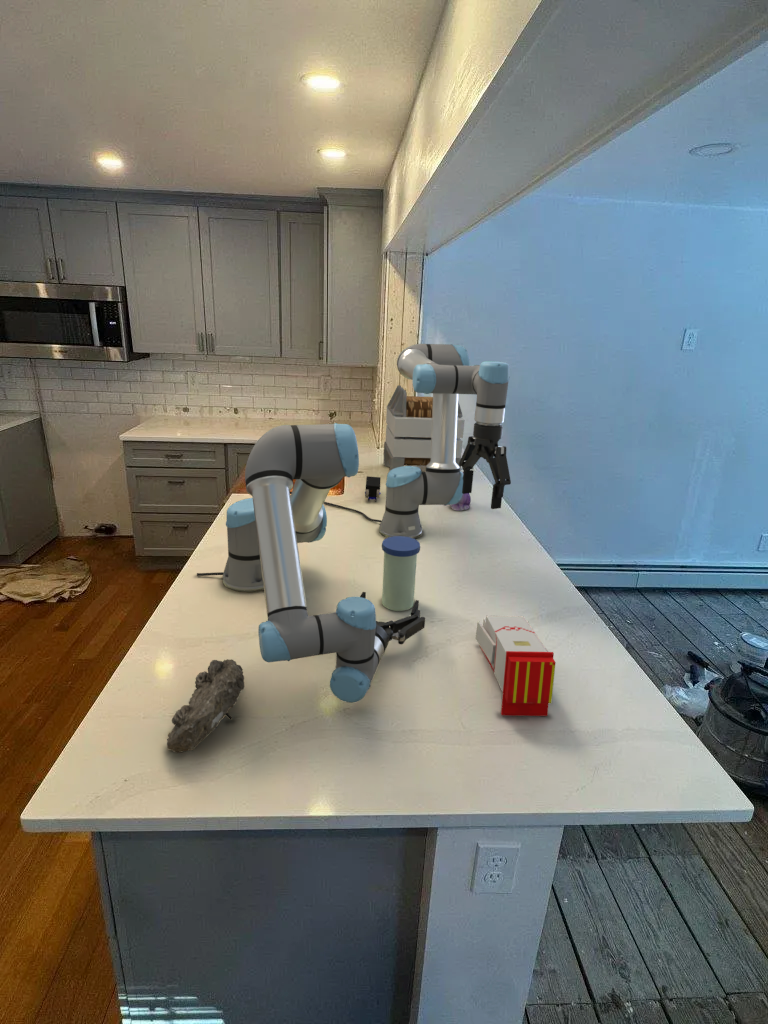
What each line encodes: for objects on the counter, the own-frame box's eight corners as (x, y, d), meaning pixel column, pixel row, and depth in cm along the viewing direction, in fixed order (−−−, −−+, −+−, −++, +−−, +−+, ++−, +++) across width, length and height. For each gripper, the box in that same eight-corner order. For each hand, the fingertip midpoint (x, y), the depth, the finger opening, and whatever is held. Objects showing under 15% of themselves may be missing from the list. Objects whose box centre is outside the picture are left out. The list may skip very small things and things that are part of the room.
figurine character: (380, 506, 230) (380, 491, 243) (381, 489, 227) (381, 475, 240) (364, 506, 230) (364, 491, 243) (364, 489, 226) (365, 474, 240)
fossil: (192, 660, 117) (244, 628, 112) (224, 691, 120) (276, 661, 115) (142, 746, 98) (202, 712, 93) (182, 779, 101) (242, 748, 96)
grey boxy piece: (382, 463, 289) (386, 382, 275) (445, 464, 293) (451, 384, 279) (390, 482, 257) (394, 392, 243) (460, 483, 261) (468, 394, 247)
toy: (522, 601, 137) (564, 658, 107) (517, 652, 139) (557, 722, 110) (472, 600, 136) (500, 657, 107) (468, 651, 139) (495, 721, 110)
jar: (420, 604, 153) (424, 545, 147) (397, 614, 147) (401, 554, 142) (397, 592, 159) (400, 536, 153) (375, 602, 153) (377, 543, 147)
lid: (427, 550, 148) (428, 544, 147) (401, 560, 141) (401, 554, 140) (400, 538, 154) (400, 533, 154) (373, 547, 148) (374, 542, 147)
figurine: (457, 512, 223) (460, 476, 218) (443, 504, 231) (446, 469, 226) (477, 509, 227) (480, 473, 222) (462, 502, 236) (465, 467, 230)
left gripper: (313, 651, 126) (342, 606, 145) (423, 671, 121) (438, 622, 140) (313, 621, 123) (342, 580, 143) (426, 641, 118) (441, 595, 138)
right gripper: (531, 432, 139) (520, 513, 146) (473, 414, 159) (466, 486, 167) (506, 433, 135) (497, 517, 143) (450, 415, 156) (444, 488, 163)
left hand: (390, 600), depth 142 cm, fingers open, 13 cm apart
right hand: (480, 500), depth 155 cm, fingers open, 13 cm apart
